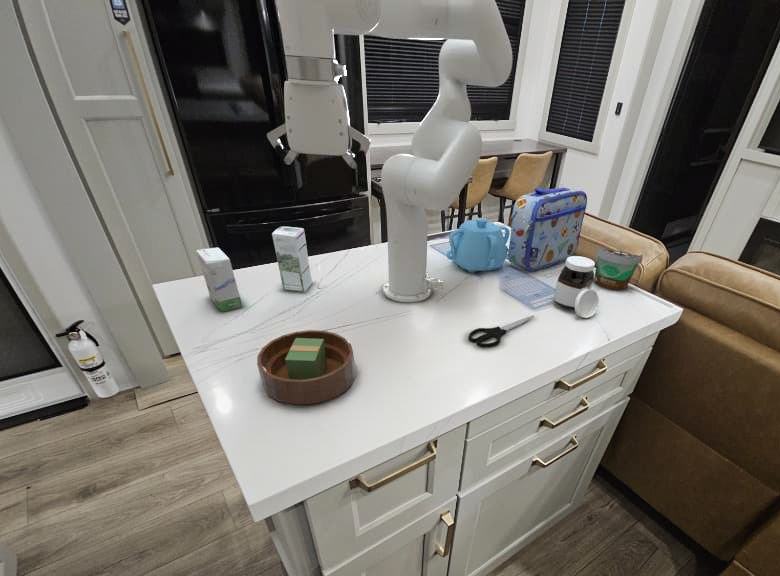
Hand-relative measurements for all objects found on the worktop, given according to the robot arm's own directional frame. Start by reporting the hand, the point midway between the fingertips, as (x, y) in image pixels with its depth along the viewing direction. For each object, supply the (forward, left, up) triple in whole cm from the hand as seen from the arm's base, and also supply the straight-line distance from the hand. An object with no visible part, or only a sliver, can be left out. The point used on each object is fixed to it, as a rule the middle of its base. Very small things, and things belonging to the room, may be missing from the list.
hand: (325, 189), depth 76 cm
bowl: (+2, +20, -28) cm, 35 cm away
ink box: (+28, -8, -28) cm, 41 cm away
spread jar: (-57, -13, -28) cm, 65 cm away
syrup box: (+14, -18, -28) cm, 36 cm away
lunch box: (-54, -43, -28) cm, 75 cm away
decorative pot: (-34, -38, -28) cm, 58 cm away
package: (+2, +20, -28) cm, 34 cm away
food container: (-71, -27, -28) cm, 81 cm away
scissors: (-37, 0, -28) cm, 47 cm away
